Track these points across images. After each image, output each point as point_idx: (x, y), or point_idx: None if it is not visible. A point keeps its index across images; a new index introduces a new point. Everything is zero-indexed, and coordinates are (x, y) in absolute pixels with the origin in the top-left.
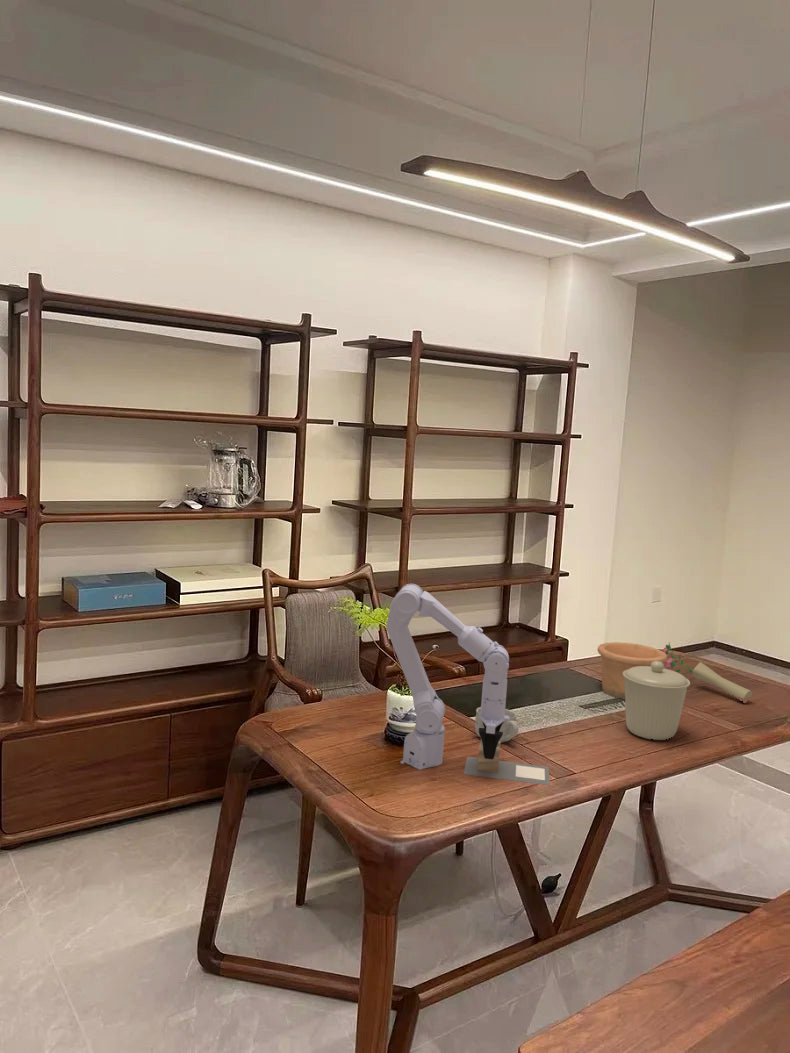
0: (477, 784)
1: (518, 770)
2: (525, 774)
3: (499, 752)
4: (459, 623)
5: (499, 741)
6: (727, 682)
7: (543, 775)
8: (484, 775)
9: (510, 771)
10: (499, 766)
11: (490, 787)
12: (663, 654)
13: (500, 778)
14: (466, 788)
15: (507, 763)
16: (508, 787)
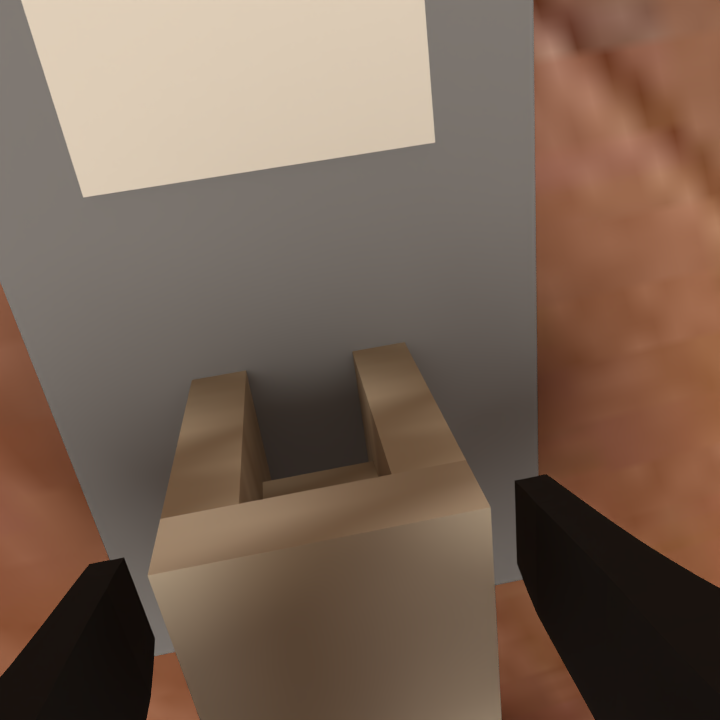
0: (609, 434)
1: (239, 138)
2: (324, 24)
3: (397, 467)
4: None
5: (156, 588)
6: None
7: None
8: (509, 434)
9: (295, 227)
10: (217, 365)
11: (639, 329)
12: None
13: (530, 288)
14: (702, 481)
15: (77, 306)
16: (594, 176)
